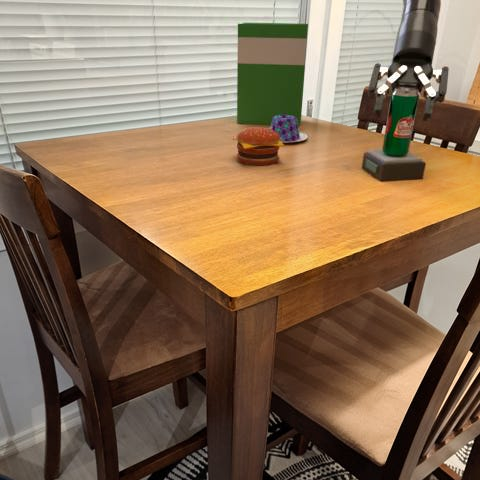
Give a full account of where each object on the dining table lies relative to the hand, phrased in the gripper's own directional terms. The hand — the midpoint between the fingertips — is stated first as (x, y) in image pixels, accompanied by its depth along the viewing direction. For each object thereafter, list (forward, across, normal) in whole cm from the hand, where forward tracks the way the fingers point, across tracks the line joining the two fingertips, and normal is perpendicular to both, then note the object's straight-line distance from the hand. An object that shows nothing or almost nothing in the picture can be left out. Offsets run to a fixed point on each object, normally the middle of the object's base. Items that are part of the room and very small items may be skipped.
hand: (401, 116), depth 94 cm
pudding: (-7, -28, +23) cm, 37 cm away
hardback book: (-20, -36, +36) cm, 55 cm away
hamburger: (+7, -29, +9) cm, 31 cm away
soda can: (+4, 0, +6) cm, 7 cm away
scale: (+7, 0, +8) cm, 11 cm away
